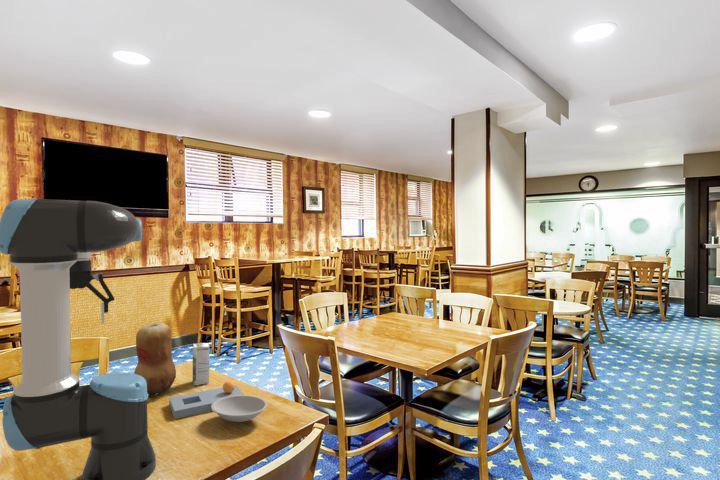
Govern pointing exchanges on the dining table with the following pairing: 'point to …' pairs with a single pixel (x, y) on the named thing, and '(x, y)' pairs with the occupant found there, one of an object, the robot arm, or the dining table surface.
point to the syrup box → (200, 363)
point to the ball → (228, 386)
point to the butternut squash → (155, 357)
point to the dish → (239, 407)
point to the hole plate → (198, 401)
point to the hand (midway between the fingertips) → (78, 325)
